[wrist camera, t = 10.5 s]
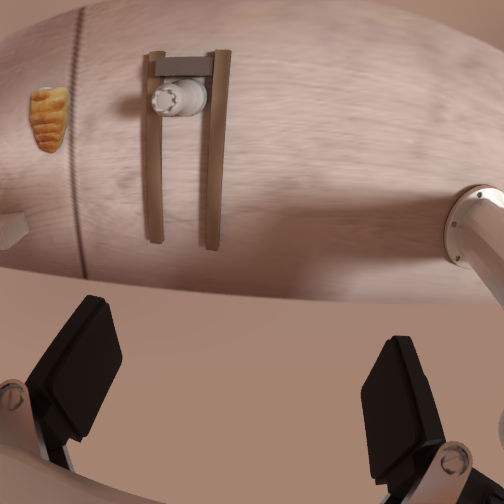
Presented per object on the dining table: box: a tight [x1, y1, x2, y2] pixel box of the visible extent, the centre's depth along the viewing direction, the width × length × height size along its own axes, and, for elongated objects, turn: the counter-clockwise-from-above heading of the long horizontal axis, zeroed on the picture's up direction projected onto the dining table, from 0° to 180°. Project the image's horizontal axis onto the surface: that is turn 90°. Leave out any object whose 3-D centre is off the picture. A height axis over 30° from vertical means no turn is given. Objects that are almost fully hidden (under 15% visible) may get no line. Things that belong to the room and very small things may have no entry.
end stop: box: [155, 57, 215, 76], centre depth 28 cm, size 6×2×3 cm, turn 85°
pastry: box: [30, 86, 70, 153], centre depth 32 cm, size 9×7×4 cm
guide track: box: [146, 50, 231, 251], centre depth 34 cm, size 9×24×1 cm, turn 175°
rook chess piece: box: [151, 79, 207, 117], centre depth 28 cm, size 4×4×8 cm
